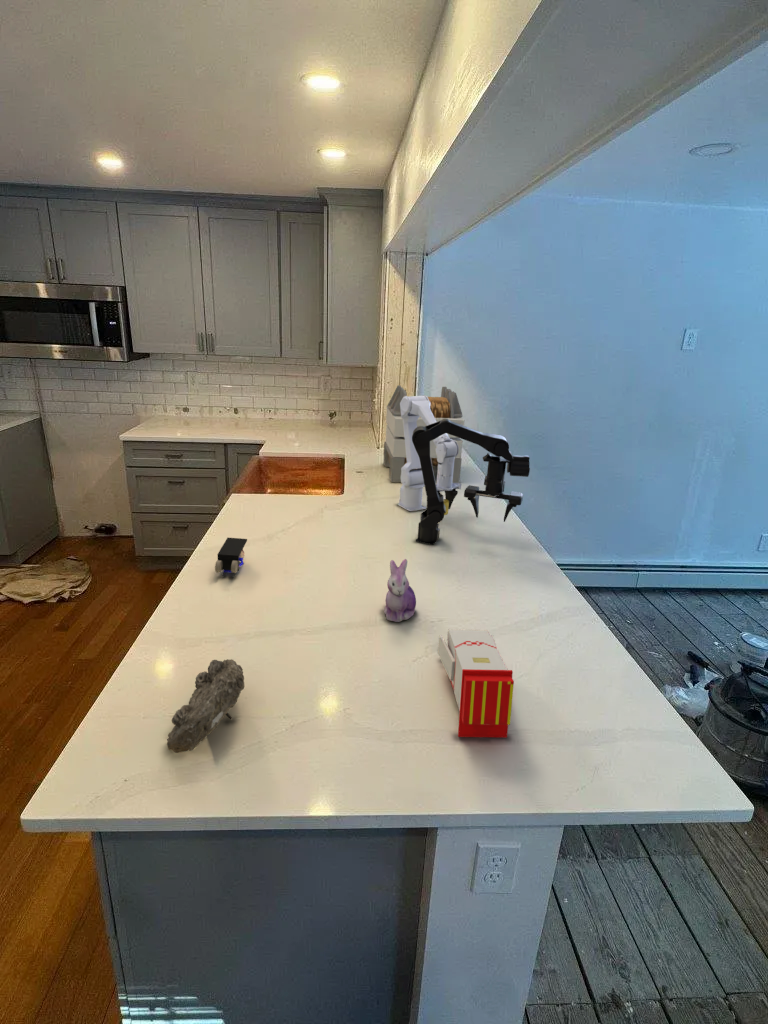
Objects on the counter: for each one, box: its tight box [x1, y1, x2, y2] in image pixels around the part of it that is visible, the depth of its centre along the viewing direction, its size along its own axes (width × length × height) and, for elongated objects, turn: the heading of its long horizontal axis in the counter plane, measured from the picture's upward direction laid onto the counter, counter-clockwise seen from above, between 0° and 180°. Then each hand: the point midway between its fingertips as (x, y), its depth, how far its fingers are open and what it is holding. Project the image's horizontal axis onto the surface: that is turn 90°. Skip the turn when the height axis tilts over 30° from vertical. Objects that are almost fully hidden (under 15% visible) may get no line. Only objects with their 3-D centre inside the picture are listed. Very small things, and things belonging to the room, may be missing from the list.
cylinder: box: [444, 498, 450, 516], centre depth 210 cm, size 4×4×5 cm
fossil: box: [166, 658, 245, 754], centre depth 106 cm, size 22×10×15 cm
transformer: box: [383, 384, 465, 483], centre depth 268 cm, size 34×33×41 cm
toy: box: [437, 628, 515, 738], centre depth 117 cm, size 12×13×30 cm
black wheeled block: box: [214, 537, 248, 578], centre depth 166 cm, size 7×8×15 cm
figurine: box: [384, 558, 417, 623], centre depth 145 cm, size 9×10×15 cm
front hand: (490, 519), depth 191 cm, fingers open, 9 cm apart
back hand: (442, 509), depth 210 cm, fingers closed on cylinder, 4 cm apart
